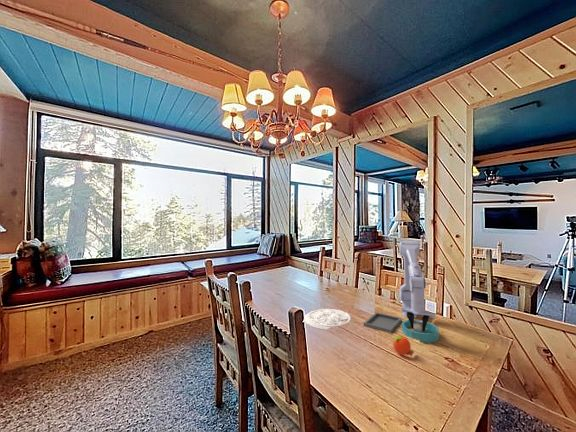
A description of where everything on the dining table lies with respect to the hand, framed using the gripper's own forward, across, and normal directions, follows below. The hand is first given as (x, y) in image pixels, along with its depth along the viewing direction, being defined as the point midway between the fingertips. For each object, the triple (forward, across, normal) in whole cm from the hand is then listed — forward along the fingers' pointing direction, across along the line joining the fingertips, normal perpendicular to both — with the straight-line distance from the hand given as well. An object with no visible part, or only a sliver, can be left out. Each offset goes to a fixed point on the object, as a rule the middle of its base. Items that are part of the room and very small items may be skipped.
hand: (418, 329), depth 124 cm
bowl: (+4, 0, +3) cm, 5 cm away
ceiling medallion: (+4, -46, -7) cm, 46 cm away
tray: (+4, -18, +3) cm, 19 cm away
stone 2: (+3, 0, +6) cm, 7 cm away
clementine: (+4, -2, -20) cm, 21 cm away
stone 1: (+1, 0, 0) cm, 1 cm away
